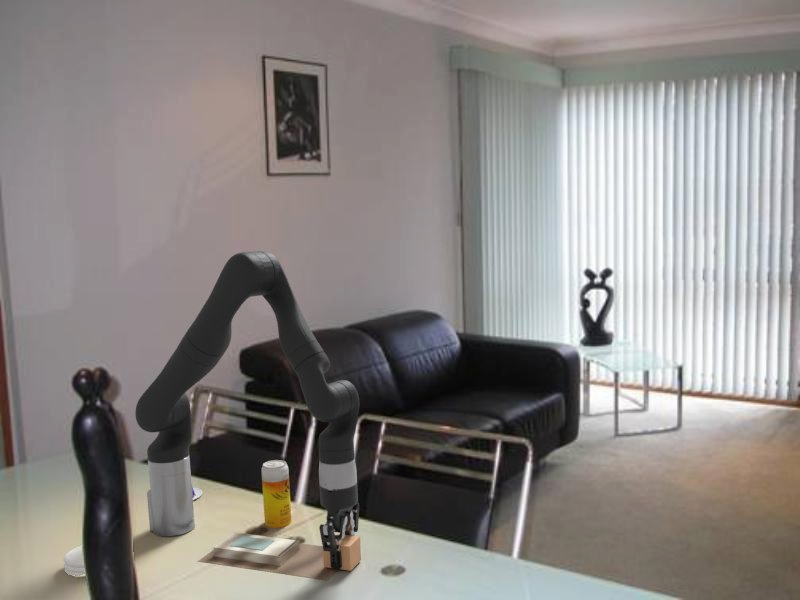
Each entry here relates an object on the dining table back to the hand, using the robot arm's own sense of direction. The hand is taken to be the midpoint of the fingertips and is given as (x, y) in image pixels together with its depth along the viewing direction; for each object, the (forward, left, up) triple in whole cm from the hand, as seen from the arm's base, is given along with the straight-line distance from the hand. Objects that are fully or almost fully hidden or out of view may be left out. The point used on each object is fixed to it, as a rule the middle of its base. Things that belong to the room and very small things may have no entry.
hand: (342, 561), depth 169 cm
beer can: (-24, +16, -2) cm, 29 cm away
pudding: (-59, +26, -2) cm, 64 cm away
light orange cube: (0, 0, 0) cm, 0 cm away
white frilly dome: (-52, -14, -2) cm, 54 cm away
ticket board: (-15, 0, -2) cm, 15 cm away
